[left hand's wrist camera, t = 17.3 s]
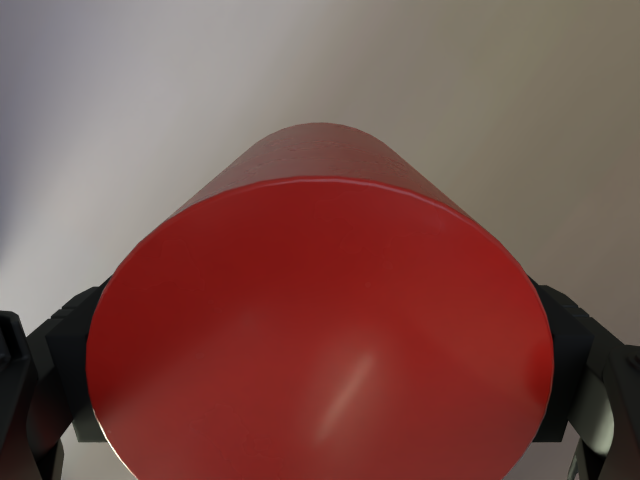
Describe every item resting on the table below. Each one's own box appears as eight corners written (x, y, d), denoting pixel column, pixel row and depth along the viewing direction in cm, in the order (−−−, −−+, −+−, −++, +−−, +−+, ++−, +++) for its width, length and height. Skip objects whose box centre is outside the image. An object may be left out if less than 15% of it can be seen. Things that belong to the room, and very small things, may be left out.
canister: (262, 341, 18) (208, 581, 9) (178, 166, 15) (-20, 277, 6) (444, 287, 17) (577, 501, 8) (393, 88, 14) (518, 89, 5)
